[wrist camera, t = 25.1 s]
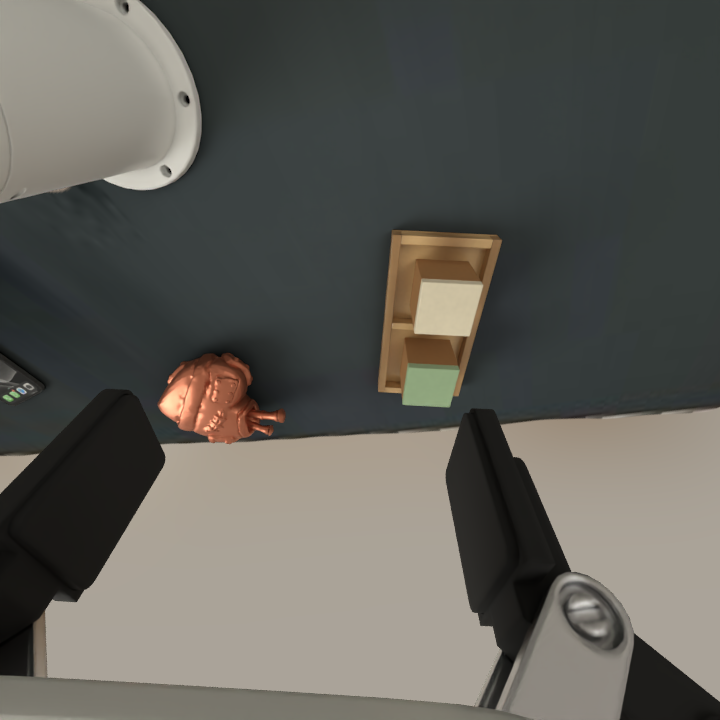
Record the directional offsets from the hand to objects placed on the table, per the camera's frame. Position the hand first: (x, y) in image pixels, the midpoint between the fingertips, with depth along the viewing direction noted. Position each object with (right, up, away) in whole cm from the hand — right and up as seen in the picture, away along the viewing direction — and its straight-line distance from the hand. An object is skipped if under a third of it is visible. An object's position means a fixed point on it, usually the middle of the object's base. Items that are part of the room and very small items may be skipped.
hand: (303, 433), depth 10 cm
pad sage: (+9, +3, +29) cm, 30 cm away
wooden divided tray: (+9, +6, +26) cm, 29 cm away
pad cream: (+9, +10, +23) cm, 27 cm away
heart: (-15, -1, +33) cm, 36 cm away
